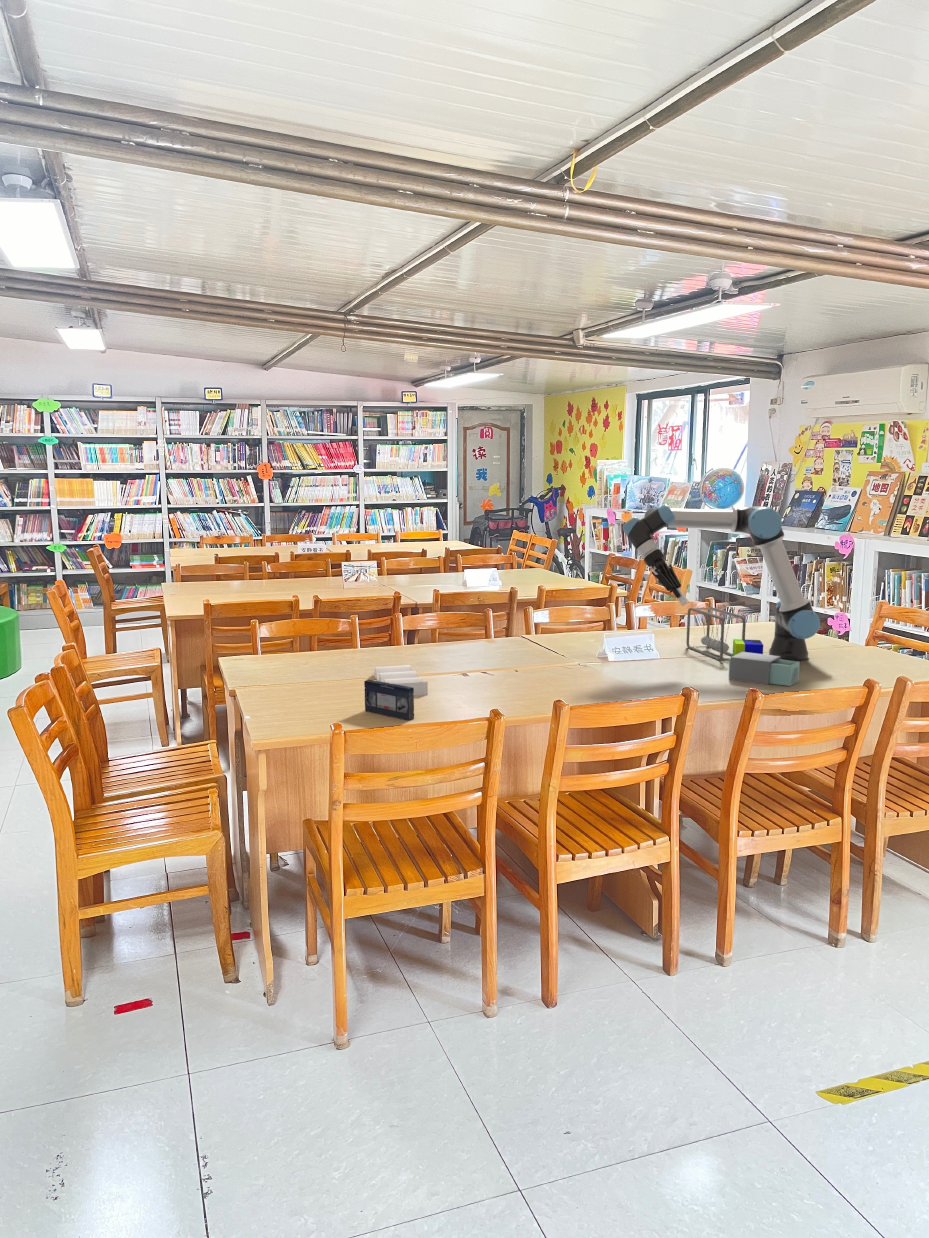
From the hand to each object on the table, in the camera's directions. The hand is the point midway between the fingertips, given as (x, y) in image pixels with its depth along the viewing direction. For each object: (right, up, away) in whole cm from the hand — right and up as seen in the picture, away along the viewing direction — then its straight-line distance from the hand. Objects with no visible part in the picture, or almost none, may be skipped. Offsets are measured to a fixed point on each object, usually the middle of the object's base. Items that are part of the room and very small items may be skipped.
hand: (685, 603), depth 335 cm
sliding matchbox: (+24, -28, -17) cm, 40 cm away
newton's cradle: (+19, -21, +30) cm, 42 cm away
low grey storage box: (+21, -28, -15) cm, 38 cm away
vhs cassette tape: (-108, -36, -63) cm, 130 cm away
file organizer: (-107, -30, -23) cm, 114 cm away
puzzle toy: (+25, -25, +5) cm, 35 cm away
